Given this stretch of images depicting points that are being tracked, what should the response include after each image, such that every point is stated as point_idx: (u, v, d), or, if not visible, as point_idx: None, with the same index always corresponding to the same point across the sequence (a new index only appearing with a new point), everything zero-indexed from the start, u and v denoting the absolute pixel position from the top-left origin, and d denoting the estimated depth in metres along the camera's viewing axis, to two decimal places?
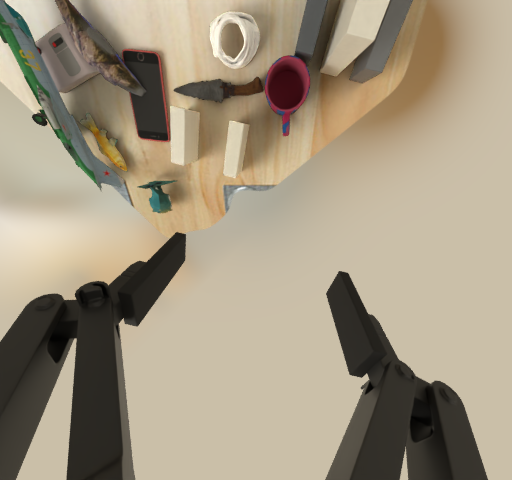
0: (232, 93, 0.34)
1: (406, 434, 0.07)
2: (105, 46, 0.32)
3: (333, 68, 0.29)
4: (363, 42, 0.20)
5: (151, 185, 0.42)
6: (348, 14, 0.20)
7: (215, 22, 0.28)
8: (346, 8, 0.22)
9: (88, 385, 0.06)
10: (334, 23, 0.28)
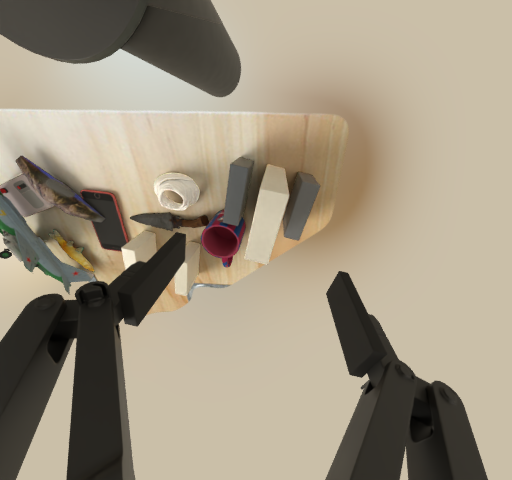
0: None
1: (406, 434, 0.07)
2: (64, 192, 0.35)
3: None
4: None
5: None
6: None
7: (157, 185, 0.32)
8: None
9: (88, 385, 0.06)
10: None
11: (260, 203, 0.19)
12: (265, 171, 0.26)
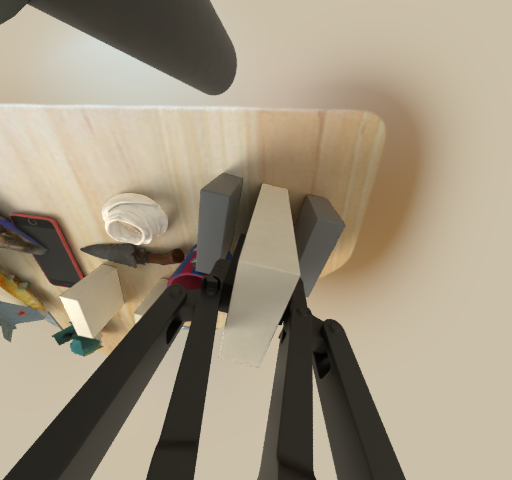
0: (146, 262, 0.28)
1: (311, 361, 0.09)
2: None
3: None
4: None
5: (71, 331, 0.36)
6: None
7: (105, 212, 0.23)
8: None
9: (191, 359, 0.08)
10: None
11: (241, 284, 0.09)
12: (257, 201, 0.16)
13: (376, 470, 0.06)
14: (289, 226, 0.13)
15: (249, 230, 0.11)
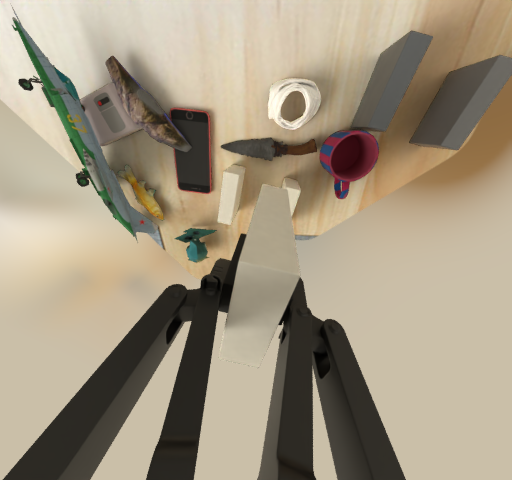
0: (284, 153, 0.32)
1: (311, 361, 0.09)
2: (154, 107, 0.30)
3: None
4: None
5: (189, 236, 0.40)
6: None
7: (277, 89, 0.27)
8: None
9: (191, 359, 0.08)
10: None
11: (241, 285, 0.10)
12: (257, 201, 0.16)
13: (376, 470, 0.06)
14: (289, 226, 0.13)
15: (249, 230, 0.11)
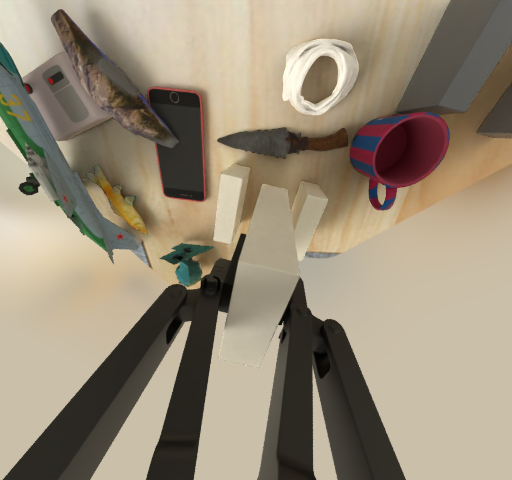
0: (303, 148, 0.24)
1: (311, 361, 0.09)
2: (125, 85, 0.22)
3: None
4: None
5: (179, 254, 0.32)
6: None
7: (297, 55, 0.19)
8: None
9: (191, 359, 0.08)
10: None
11: (241, 285, 0.10)
12: (257, 201, 0.16)
13: (376, 470, 0.06)
14: (289, 227, 0.13)
15: (249, 231, 0.11)
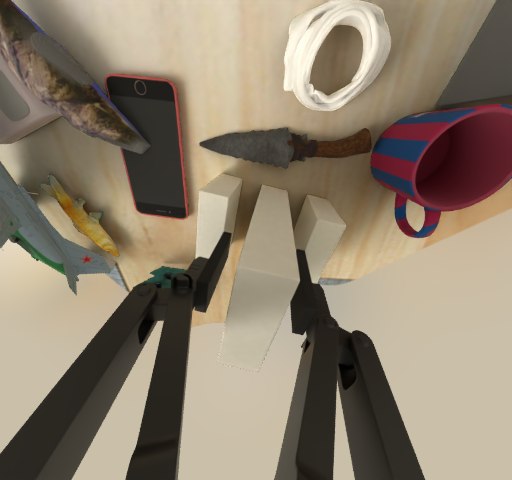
0: (310, 155, 0.18)
1: (336, 375, 0.09)
2: (70, 70, 0.16)
3: None
4: None
5: (157, 282, 0.26)
6: None
7: (305, 23, 0.13)
8: None
9: (165, 360, 0.08)
10: None
11: (240, 290, 0.09)
12: (256, 203, 0.16)
13: None
14: (289, 229, 0.13)
15: (248, 234, 0.11)
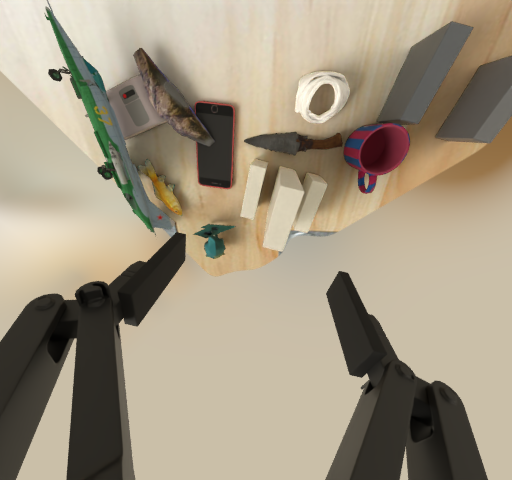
0: (309, 147, 0.32)
1: (406, 434, 0.07)
2: (180, 100, 0.30)
3: None
4: None
5: (208, 231, 0.40)
6: (267, 225, 0.28)
7: (306, 82, 0.27)
8: (270, 208, 0.30)
9: (88, 385, 0.06)
10: (274, 185, 0.36)
11: (280, 197, 0.23)
12: (280, 172, 0.30)
13: None
14: (298, 181, 0.27)
15: (280, 180, 0.25)
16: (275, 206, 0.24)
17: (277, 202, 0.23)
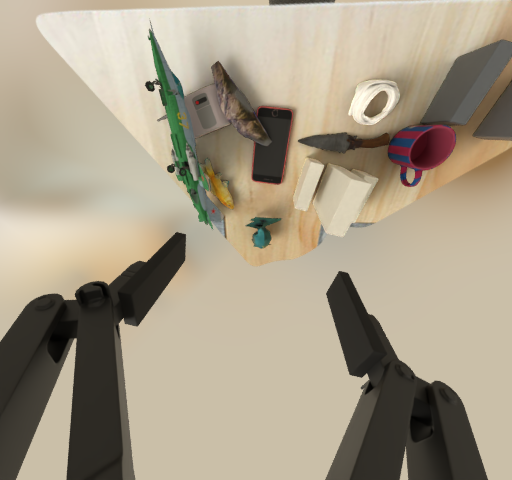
0: (358, 146, 0.36)
1: (406, 434, 0.07)
2: (247, 105, 0.34)
3: None
4: None
5: (258, 223, 0.44)
6: (328, 214, 0.32)
7: (364, 89, 0.31)
8: (327, 200, 0.34)
9: (88, 385, 0.06)
10: (322, 181, 0.40)
11: (349, 189, 0.27)
12: (335, 168, 0.34)
13: None
14: (357, 176, 0.31)
15: (345, 174, 0.29)
16: (344, 197, 0.28)
17: (346, 193, 0.28)
